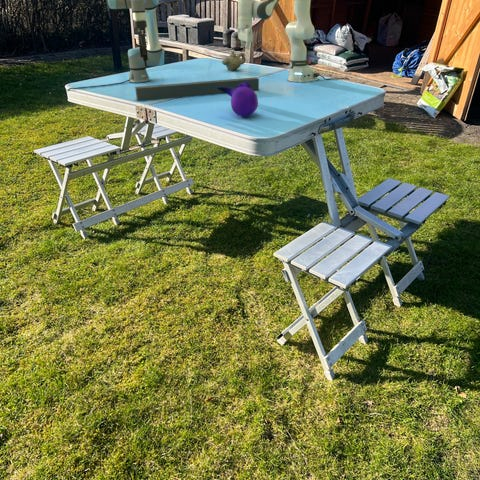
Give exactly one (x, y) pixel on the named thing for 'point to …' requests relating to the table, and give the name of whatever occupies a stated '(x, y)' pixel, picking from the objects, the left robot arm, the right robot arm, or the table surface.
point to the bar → (191, 89)
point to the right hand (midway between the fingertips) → (245, 48)
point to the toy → (242, 99)
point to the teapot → (233, 61)
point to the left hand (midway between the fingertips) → (144, 58)
